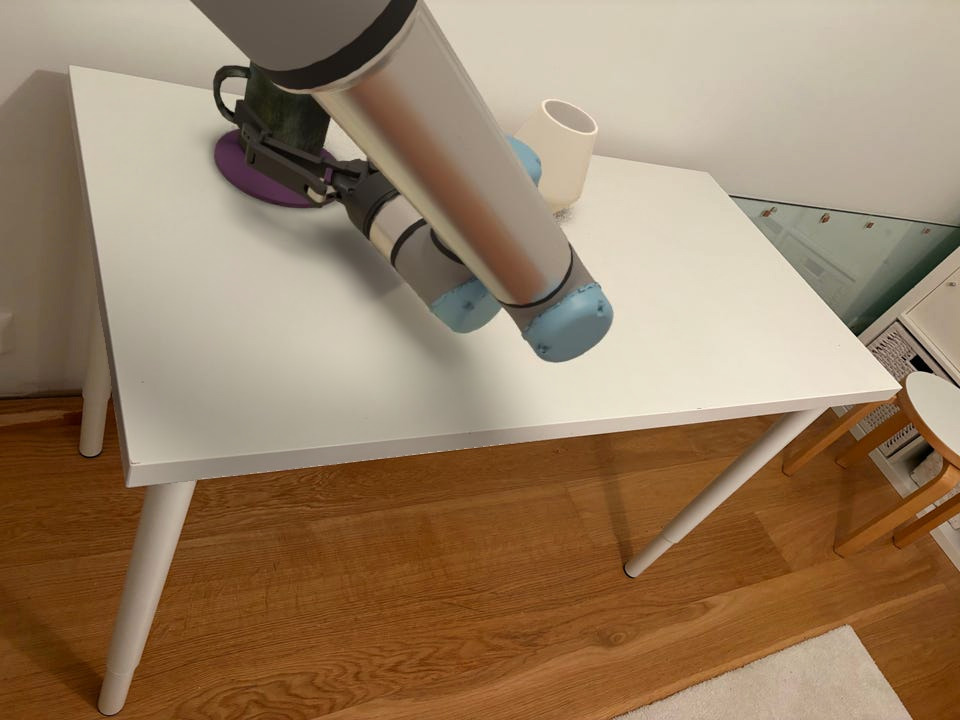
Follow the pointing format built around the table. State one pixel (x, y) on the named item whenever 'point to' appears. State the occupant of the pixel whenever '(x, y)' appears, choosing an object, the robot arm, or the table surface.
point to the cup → (560, 150)
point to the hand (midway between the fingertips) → (289, 106)
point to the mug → (277, 110)
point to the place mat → (256, 174)
